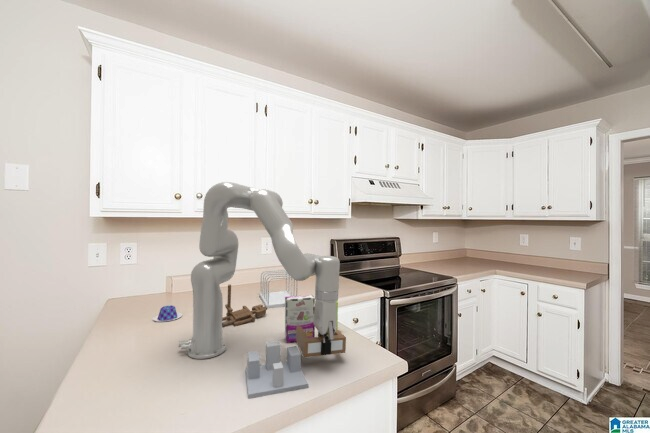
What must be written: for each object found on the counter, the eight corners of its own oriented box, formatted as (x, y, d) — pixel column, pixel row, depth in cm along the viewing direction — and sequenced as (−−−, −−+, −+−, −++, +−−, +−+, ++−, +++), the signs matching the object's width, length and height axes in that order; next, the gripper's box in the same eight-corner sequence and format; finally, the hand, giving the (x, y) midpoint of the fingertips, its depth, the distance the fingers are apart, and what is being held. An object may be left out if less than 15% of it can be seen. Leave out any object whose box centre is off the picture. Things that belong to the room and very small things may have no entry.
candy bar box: (312, 335, 113) (312, 294, 114) (314, 340, 109) (315, 297, 109) (284, 338, 110) (284, 296, 111) (285, 343, 106) (286, 299, 106)
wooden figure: (209, 286, 122) (262, 274, 138) (209, 322, 126) (260, 306, 142) (222, 302, 112) (277, 287, 128) (221, 340, 116) (274, 321, 132)
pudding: (175, 322, 126) (175, 310, 126) (147, 323, 125) (147, 311, 125) (186, 313, 138) (186, 303, 138) (160, 314, 137) (160, 303, 137)
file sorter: (259, 296, 170) (259, 270, 170) (287, 293, 177) (287, 268, 177) (266, 308, 147) (267, 278, 147) (298, 305, 153) (299, 276, 153)
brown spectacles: (303, 358, 88) (304, 341, 88) (295, 340, 100) (295, 326, 100) (345, 353, 92) (346, 337, 92) (332, 337, 104) (332, 323, 104)
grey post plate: (248, 398, 73) (248, 367, 73) (245, 370, 86) (245, 344, 86) (308, 387, 78) (308, 358, 78) (296, 362, 91) (297, 338, 91)
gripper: (308, 288, 98) (306, 342, 98) (323, 302, 82) (320, 366, 82) (329, 288, 100) (326, 340, 100) (347, 301, 85) (344, 363, 85)
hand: (324, 351), depth 91 cm, fingers closed on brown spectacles, 2 cm apart
